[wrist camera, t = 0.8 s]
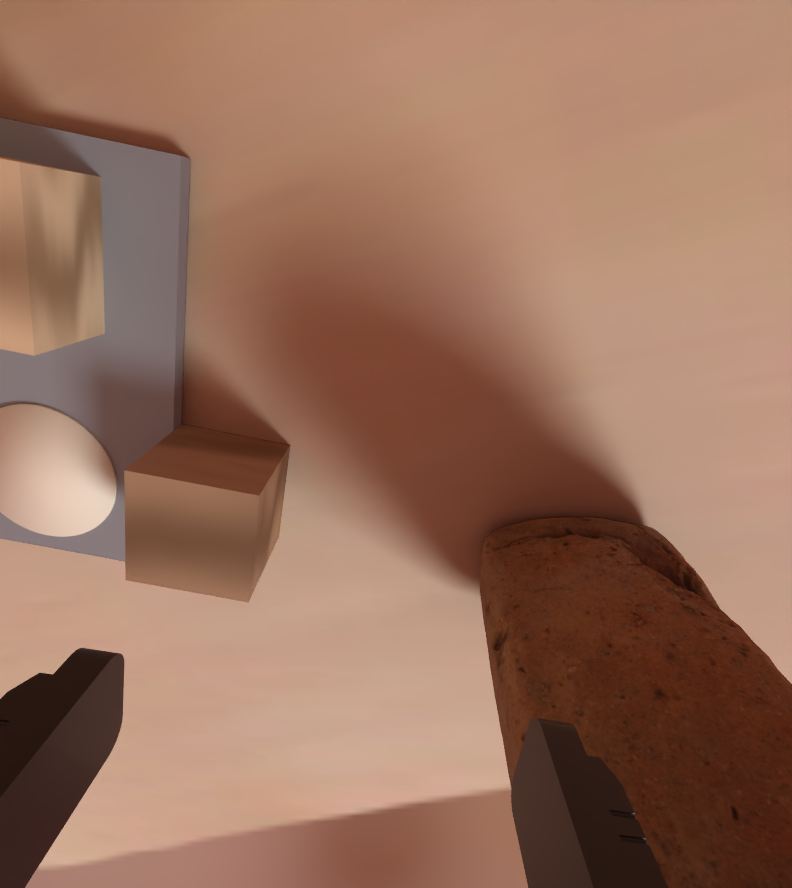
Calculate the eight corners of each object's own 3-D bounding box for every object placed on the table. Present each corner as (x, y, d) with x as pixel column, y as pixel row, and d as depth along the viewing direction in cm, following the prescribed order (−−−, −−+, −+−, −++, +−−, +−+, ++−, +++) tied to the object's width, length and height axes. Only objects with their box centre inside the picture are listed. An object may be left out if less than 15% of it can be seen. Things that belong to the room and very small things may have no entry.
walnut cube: (182, 423, 28) (124, 470, 23) (290, 444, 28) (259, 495, 23) (179, 516, 30) (125, 580, 25) (279, 535, 31) (248, 602, 25)
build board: (-125, 92, 23) (-148, 86, 22) (190, 158, 23) (180, 155, 22) (-55, 517, 31) (-69, 525, 30) (176, 559, 31) (169, 569, 31)
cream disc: (-37, 390, 27) (-41, 391, 27) (116, 419, 27) (114, 421, 27) (-20, 520, 30) (-22, 522, 30) (118, 546, 30) (116, 548, 30)
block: (478, 618, 32) (558, 1136, 14) (469, 514, 29) (554, 987, 11) (657, 606, 31) (1002, 1143, 13) (665, 497, 29) (1120, 982, 10)
